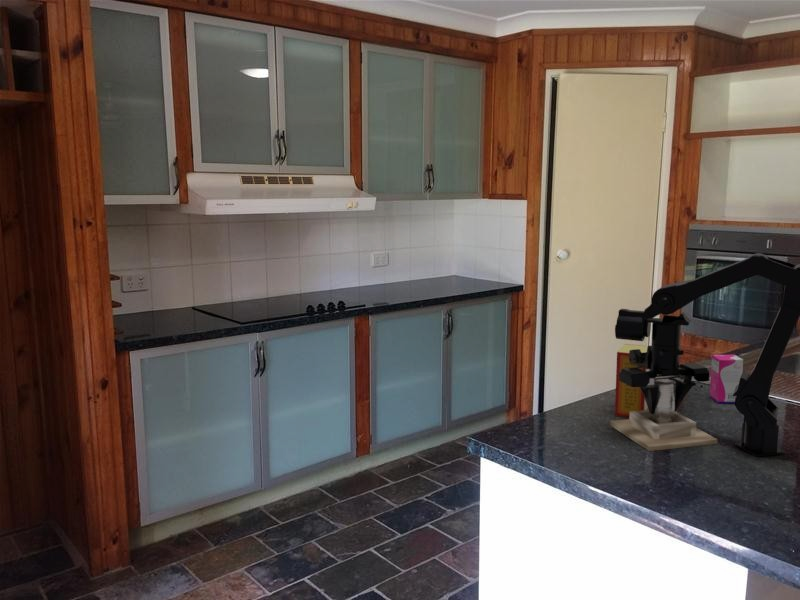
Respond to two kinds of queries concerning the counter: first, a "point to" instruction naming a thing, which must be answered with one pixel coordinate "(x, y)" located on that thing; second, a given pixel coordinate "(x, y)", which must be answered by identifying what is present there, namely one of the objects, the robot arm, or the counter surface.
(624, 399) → the baking soda box
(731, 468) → the counter surface
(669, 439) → the square peg hole base
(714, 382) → the supplement box
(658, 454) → the counter surface
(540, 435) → the counter surface
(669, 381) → the aluminium peg
